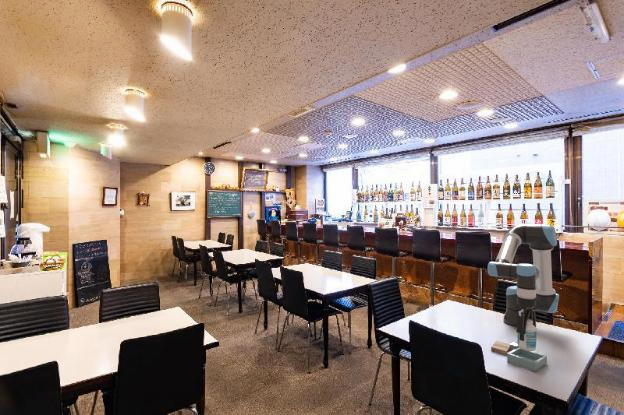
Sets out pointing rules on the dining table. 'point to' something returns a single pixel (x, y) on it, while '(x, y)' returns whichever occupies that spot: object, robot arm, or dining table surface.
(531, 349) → the pill bottle
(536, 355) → the tray
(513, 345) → the bench dog
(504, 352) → the flat wooden block
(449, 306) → the dining table surface
